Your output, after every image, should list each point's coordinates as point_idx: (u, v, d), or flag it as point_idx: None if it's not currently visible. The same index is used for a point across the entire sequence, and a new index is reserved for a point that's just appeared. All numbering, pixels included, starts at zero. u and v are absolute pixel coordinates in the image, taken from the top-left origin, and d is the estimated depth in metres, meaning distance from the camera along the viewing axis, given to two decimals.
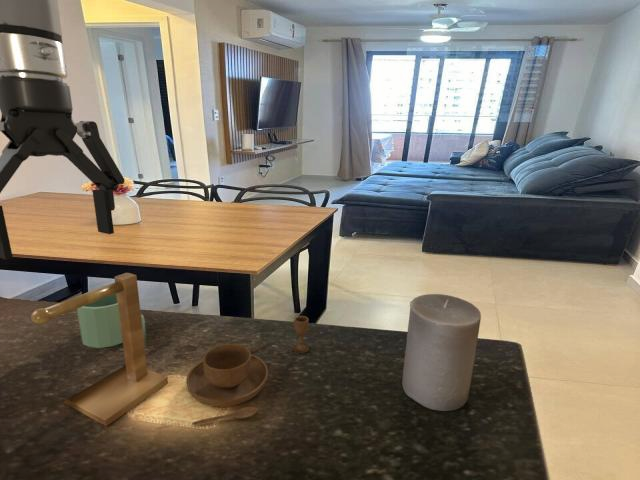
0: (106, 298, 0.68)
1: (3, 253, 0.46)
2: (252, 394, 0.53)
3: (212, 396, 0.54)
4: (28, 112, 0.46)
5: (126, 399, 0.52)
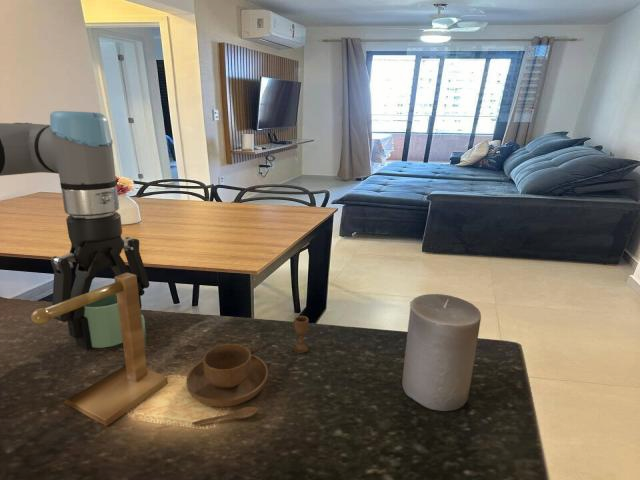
0: (106, 298, 0.68)
1: None
2: (252, 394, 0.53)
3: (212, 396, 0.54)
4: None
5: (126, 399, 0.52)
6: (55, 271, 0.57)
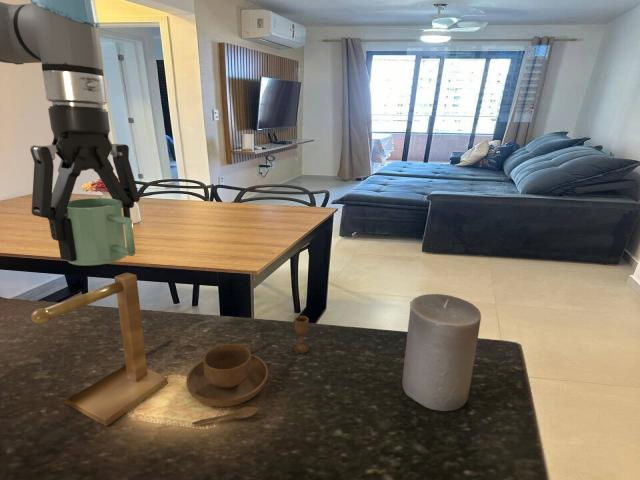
0: None
1: (70, 256, 0.57)
2: (252, 394, 0.53)
3: (212, 396, 0.54)
4: (75, 134, 0.55)
5: (126, 399, 0.52)
6: (35, 162, 0.53)
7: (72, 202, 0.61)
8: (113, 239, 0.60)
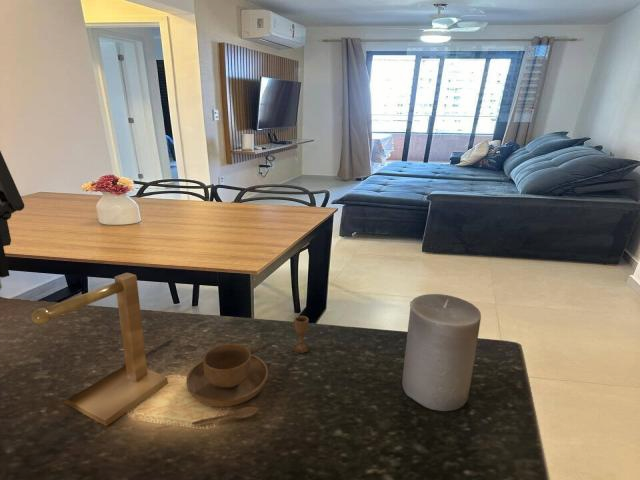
0: None
1: None
2: (252, 394, 0.53)
3: (212, 396, 0.54)
4: None
5: (126, 399, 0.52)
6: None
7: None
8: None
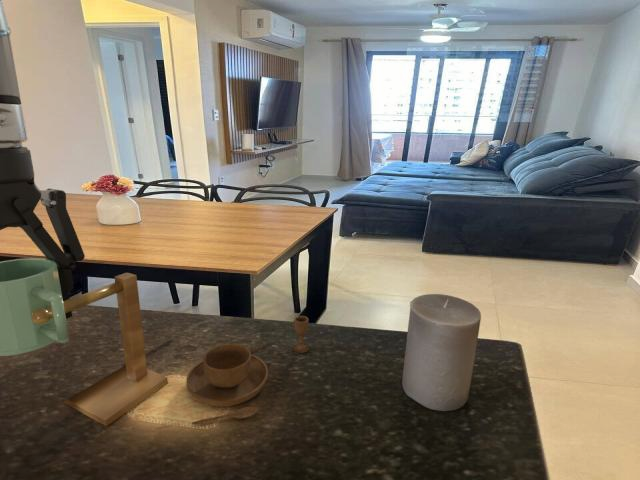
0: (21, 274, 0.49)
1: None
2: (252, 394, 0.53)
3: (212, 396, 0.54)
4: None
5: (126, 399, 0.52)
6: None
7: None
8: None
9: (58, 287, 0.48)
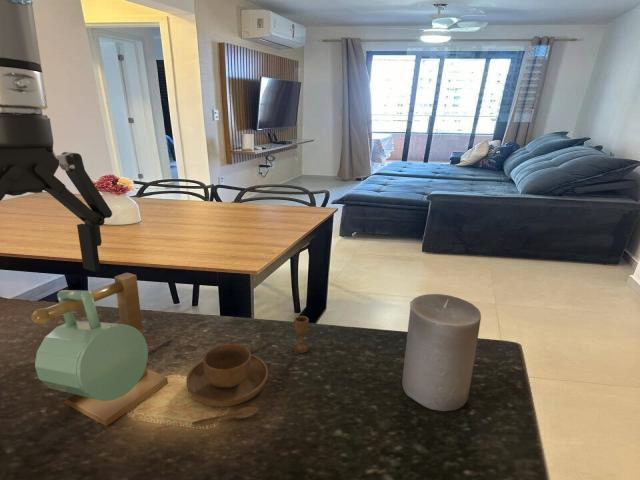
0: None
1: None
2: (252, 394, 0.53)
3: (212, 396, 0.54)
4: (3, 149, 0.42)
5: (126, 399, 0.52)
6: None
7: None
8: (88, 326, 0.46)
9: None
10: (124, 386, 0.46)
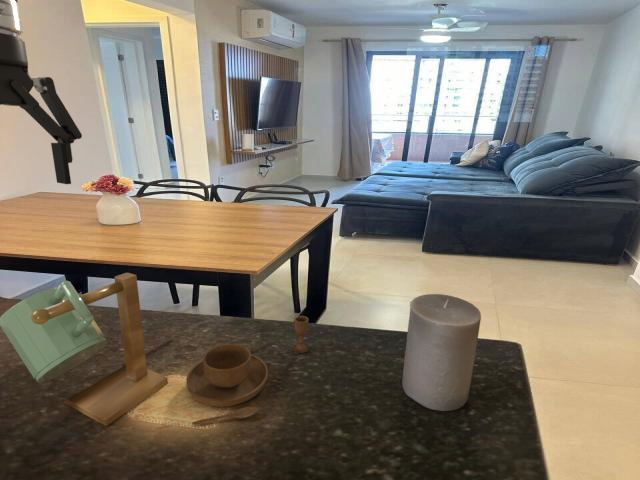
0: None
1: None
2: (252, 394, 0.53)
3: (212, 396, 0.54)
4: None
5: (126, 399, 0.52)
6: None
7: None
8: (70, 323, 0.48)
9: None
10: (66, 370, 0.51)
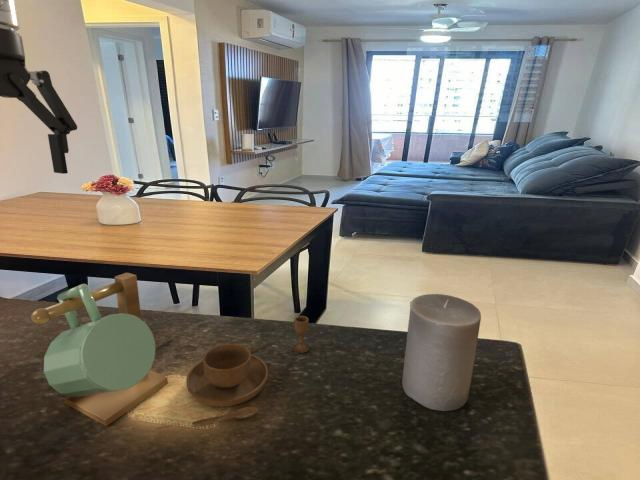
0: None
1: None
2: (252, 394, 0.53)
3: (212, 396, 0.54)
4: None
5: (126, 399, 0.52)
6: None
7: None
8: (91, 321, 0.46)
9: None
10: (134, 376, 0.44)
